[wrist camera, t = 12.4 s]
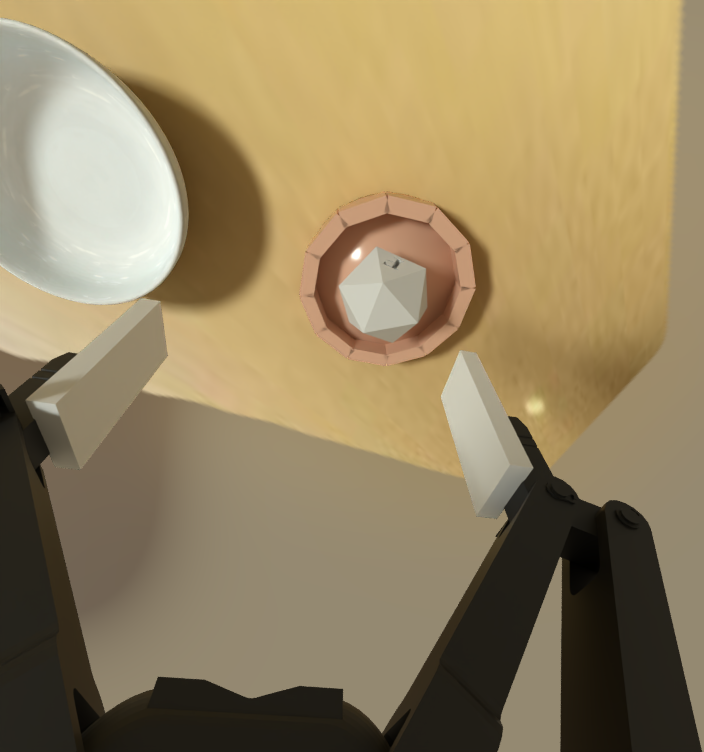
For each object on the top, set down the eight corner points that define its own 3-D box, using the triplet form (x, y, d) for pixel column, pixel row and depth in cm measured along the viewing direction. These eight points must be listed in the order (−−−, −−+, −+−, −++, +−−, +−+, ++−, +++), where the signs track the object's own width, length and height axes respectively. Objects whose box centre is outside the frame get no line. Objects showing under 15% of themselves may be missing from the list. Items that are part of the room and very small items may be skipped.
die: (437, 288, 42) (449, 256, 32) (402, 358, 42) (403, 349, 32) (371, 258, 43) (362, 218, 33) (336, 327, 43) (318, 308, 33)
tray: (318, 173, 36) (315, 177, 33) (492, 215, 38) (503, 222, 35) (295, 334, 46) (291, 348, 43) (433, 360, 48) (438, 375, 45)
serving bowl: (47, -40, 28) (-32, -82, 22) (251, 198, 37) (232, 212, 31) (-61, 158, 35) (-140, 164, 30) (132, 315, 44) (100, 343, 39)
